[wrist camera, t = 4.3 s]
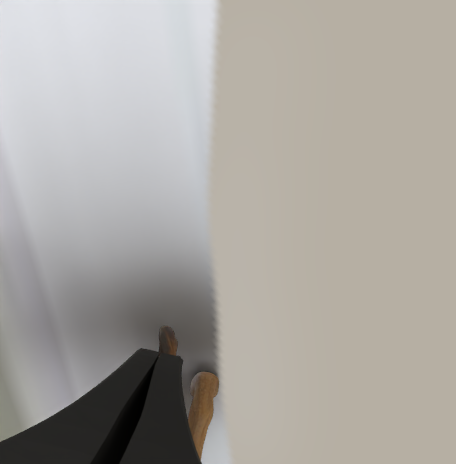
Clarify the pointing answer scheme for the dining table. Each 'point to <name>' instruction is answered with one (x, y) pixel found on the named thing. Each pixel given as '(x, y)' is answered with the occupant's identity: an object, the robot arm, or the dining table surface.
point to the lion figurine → (194, 392)
